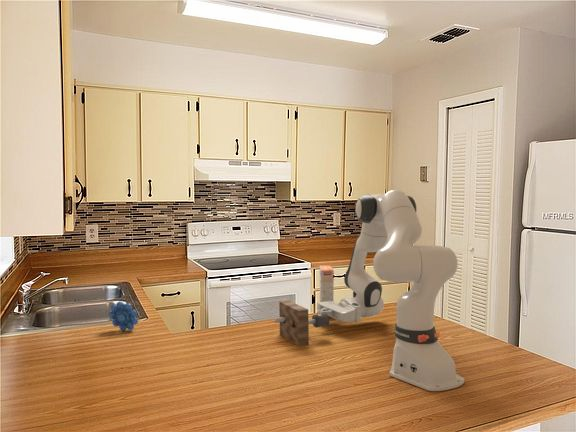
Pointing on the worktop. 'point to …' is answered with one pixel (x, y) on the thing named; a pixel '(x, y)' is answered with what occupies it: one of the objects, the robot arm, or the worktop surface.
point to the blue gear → (123, 316)
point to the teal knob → (280, 319)
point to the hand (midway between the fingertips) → (319, 313)
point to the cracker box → (326, 283)
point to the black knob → (319, 320)
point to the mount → (288, 328)
